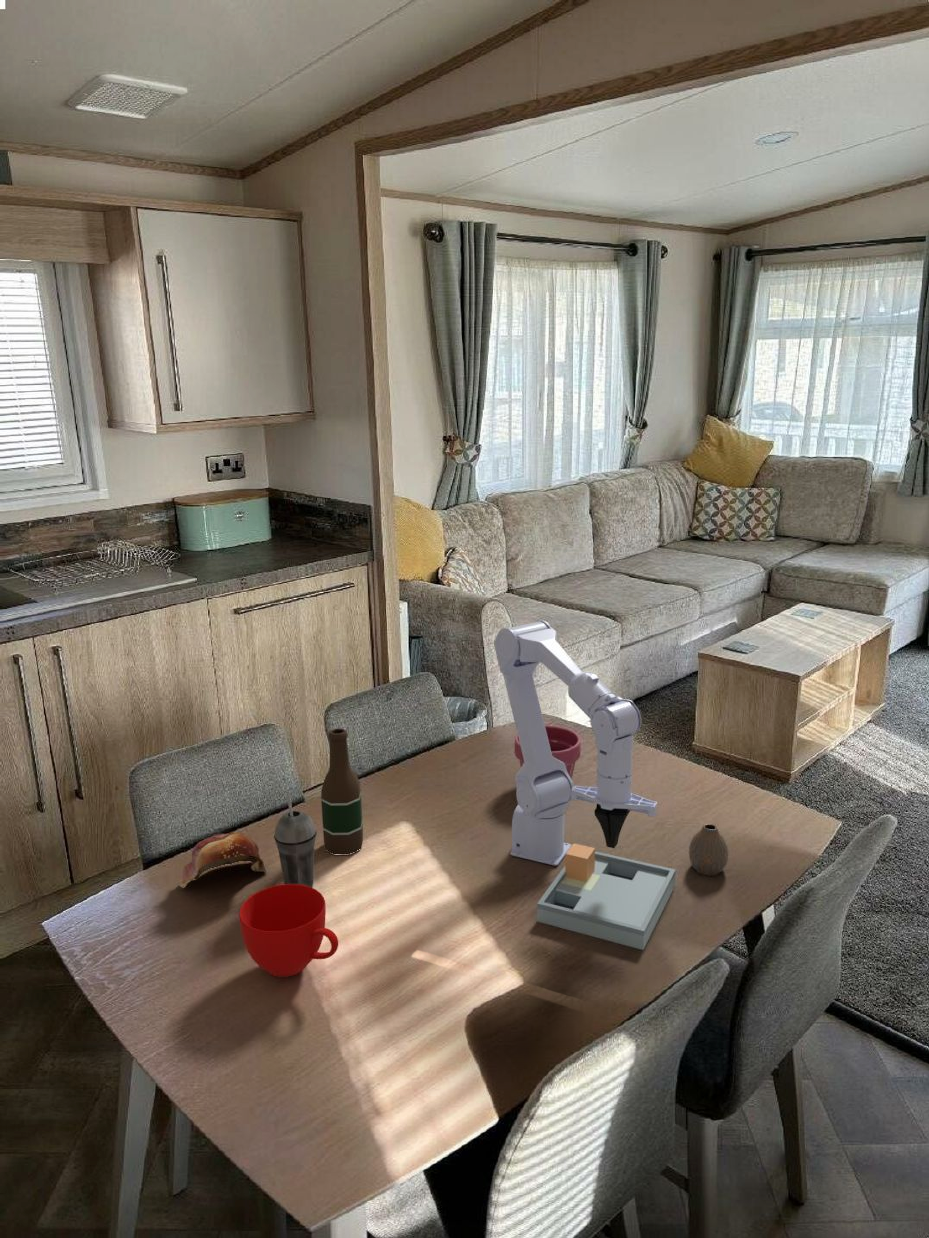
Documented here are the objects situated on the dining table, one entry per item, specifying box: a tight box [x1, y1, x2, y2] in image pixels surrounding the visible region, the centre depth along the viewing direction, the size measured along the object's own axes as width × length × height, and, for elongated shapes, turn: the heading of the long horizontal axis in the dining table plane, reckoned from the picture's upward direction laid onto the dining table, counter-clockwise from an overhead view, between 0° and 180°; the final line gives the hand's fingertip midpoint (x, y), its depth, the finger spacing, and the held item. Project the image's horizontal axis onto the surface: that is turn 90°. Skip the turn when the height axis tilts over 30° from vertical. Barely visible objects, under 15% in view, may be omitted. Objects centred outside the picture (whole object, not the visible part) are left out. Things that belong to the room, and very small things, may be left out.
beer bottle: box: [320, 728, 364, 855], centre depth 172 cm, size 8×8×24 cm
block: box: [564, 843, 596, 882], centre depth 159 cm, size 4×4×4 cm
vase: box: [688, 823, 729, 877], centre depth 163 cm, size 7×7×9 cm
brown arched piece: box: [182, 831, 267, 889], centre depth 162 cm, size 16×13×10 cm
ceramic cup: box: [238, 883, 339, 978], centre depth 138 cm, size 13×17×10 cm
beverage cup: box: [273, 791, 318, 888], centre depth 157 cm, size 7×7×20 cm
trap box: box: [536, 850, 677, 951], centre depth 154 cm, size 18×20×3 cm
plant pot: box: [514, 725, 582, 779], centre depth 194 cm, size 14×14×13 cm
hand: (612, 844), depth 154 cm, fingers closed
